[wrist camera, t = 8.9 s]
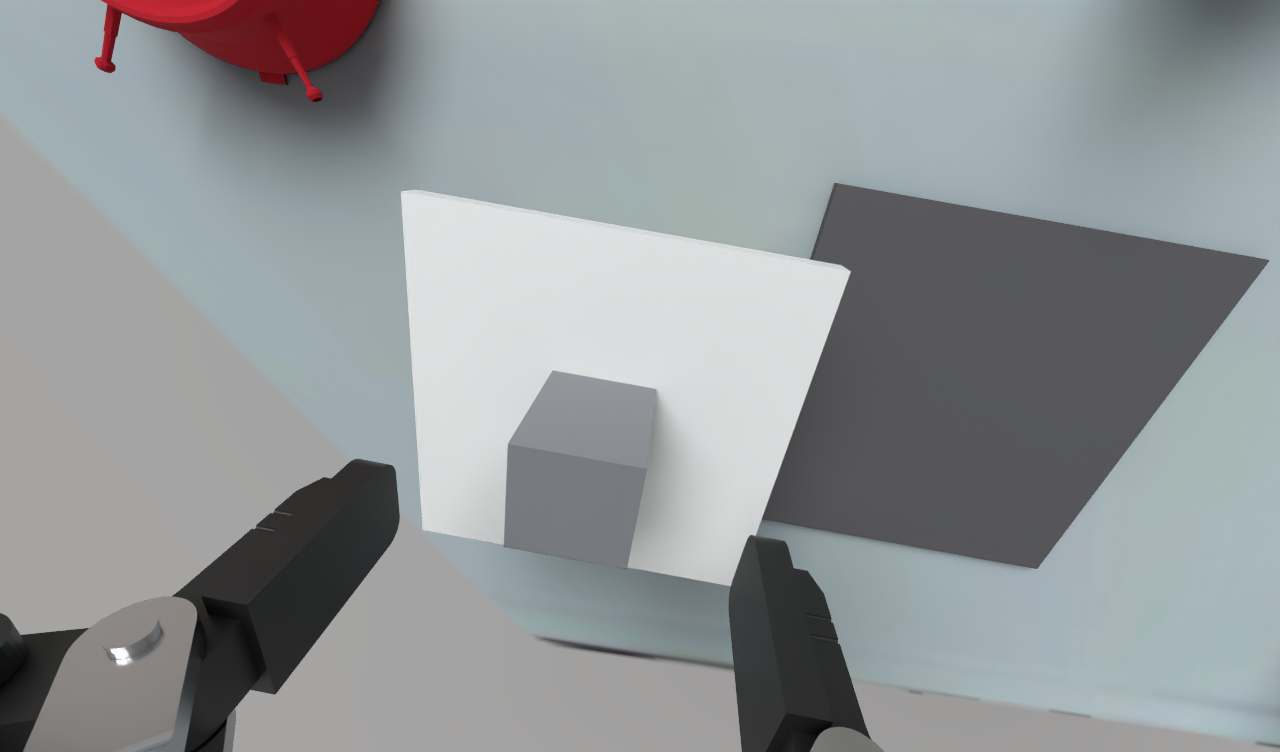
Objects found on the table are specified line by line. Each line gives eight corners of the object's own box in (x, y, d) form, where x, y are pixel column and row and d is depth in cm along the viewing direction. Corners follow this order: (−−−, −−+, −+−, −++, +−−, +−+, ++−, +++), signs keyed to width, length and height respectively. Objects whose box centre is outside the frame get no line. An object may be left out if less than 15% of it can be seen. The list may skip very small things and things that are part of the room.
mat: (1257, 257, 17) (1269, 260, 17) (1031, 562, 24) (1037, 568, 24) (834, 183, 17) (837, 183, 17) (731, 508, 24) (731, 513, 24)
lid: (841, 265, 13) (922, 319, 8) (734, 570, 18) (751, 700, 14) (416, 189, 13) (282, 205, 9) (433, 515, 18) (354, 627, 14)
